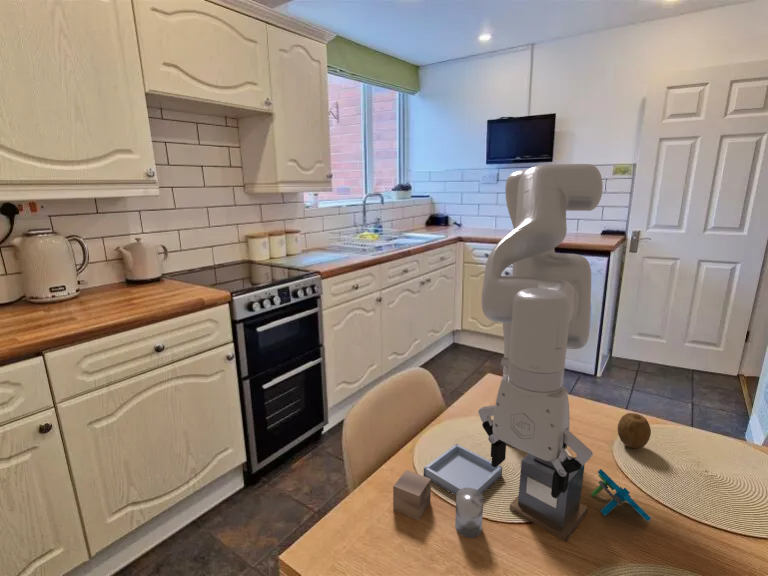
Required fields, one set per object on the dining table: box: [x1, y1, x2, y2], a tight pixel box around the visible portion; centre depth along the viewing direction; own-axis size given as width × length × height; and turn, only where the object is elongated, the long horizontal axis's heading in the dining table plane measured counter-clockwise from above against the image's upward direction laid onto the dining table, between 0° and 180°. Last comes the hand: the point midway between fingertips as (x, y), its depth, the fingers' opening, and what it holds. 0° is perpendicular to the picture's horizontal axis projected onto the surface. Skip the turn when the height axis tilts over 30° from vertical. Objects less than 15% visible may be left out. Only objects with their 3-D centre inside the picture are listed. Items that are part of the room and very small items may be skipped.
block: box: [392, 469, 432, 521], centre depth 75 cm, size 5×5×5 cm
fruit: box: [617, 412, 652, 449], centre depth 91 cm, size 6×6×8 cm
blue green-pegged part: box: [590, 468, 652, 523], centre depth 73 cm, size 11×6×10 cm
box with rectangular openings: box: [509, 453, 588, 542], centre depth 73 cm, size 9×10×10 cm
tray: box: [423, 443, 503, 496], centre depth 83 cm, size 11×11×2 cm
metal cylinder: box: [454, 488, 484, 539], centre depth 70 cm, size 4×4×6 cm
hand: (526, 477), depth 64 cm, fingers open, 9 cm apart
